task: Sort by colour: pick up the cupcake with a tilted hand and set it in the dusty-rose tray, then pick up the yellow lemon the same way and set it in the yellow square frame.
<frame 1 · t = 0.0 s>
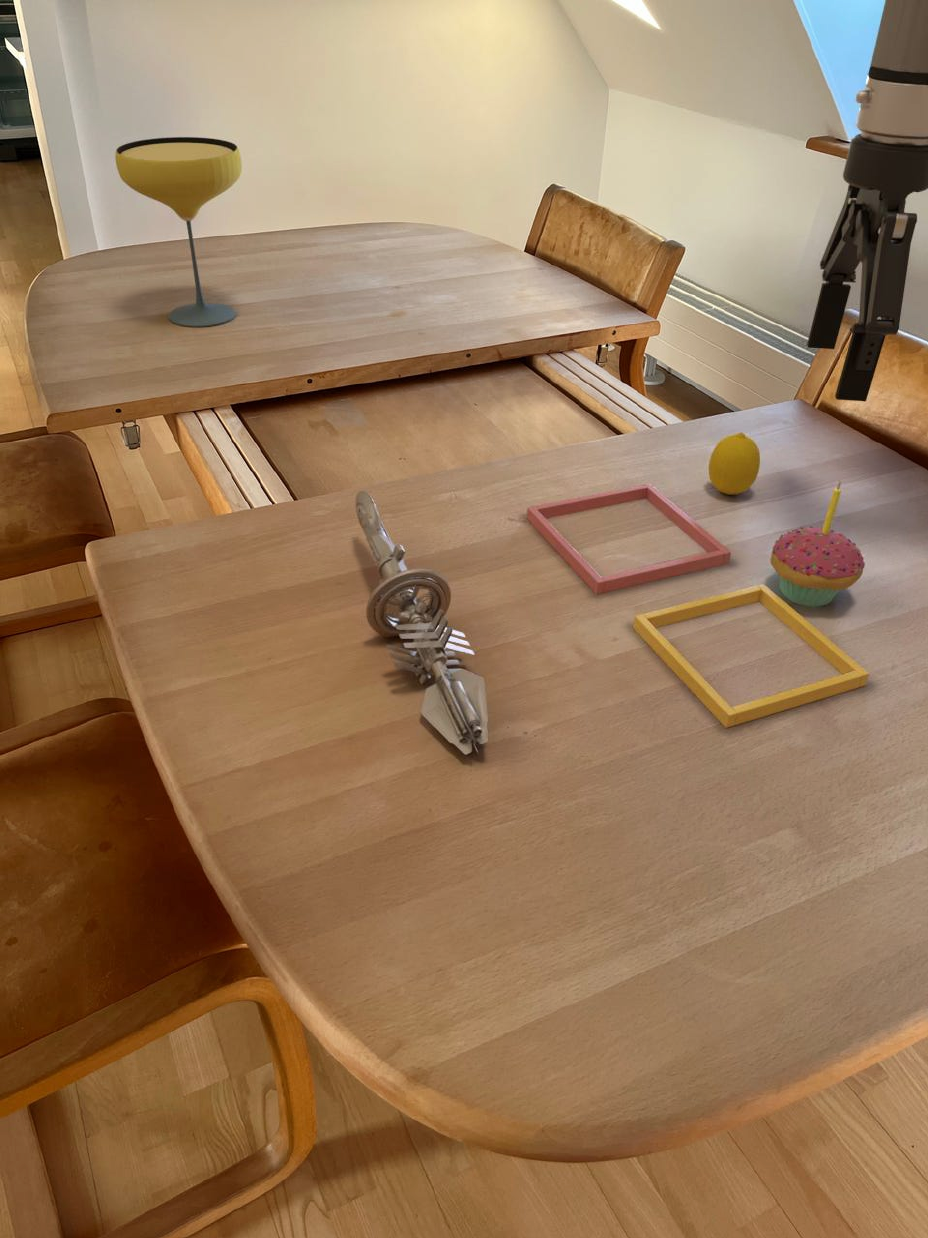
hand: (834, 371, 94), 18 cm above the table, tool pointing down, fingers open, 13 cm apart
yellow square frame: (743, 660, 84), on the table
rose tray: (623, 545, 100), on the table
lemon: (727, 497, 109), on the table
cocktail glass: (202, 316, 154), on the table
cupcake: (805, 599, 93), on the table
spaceship: (409, 640, 86), on the table
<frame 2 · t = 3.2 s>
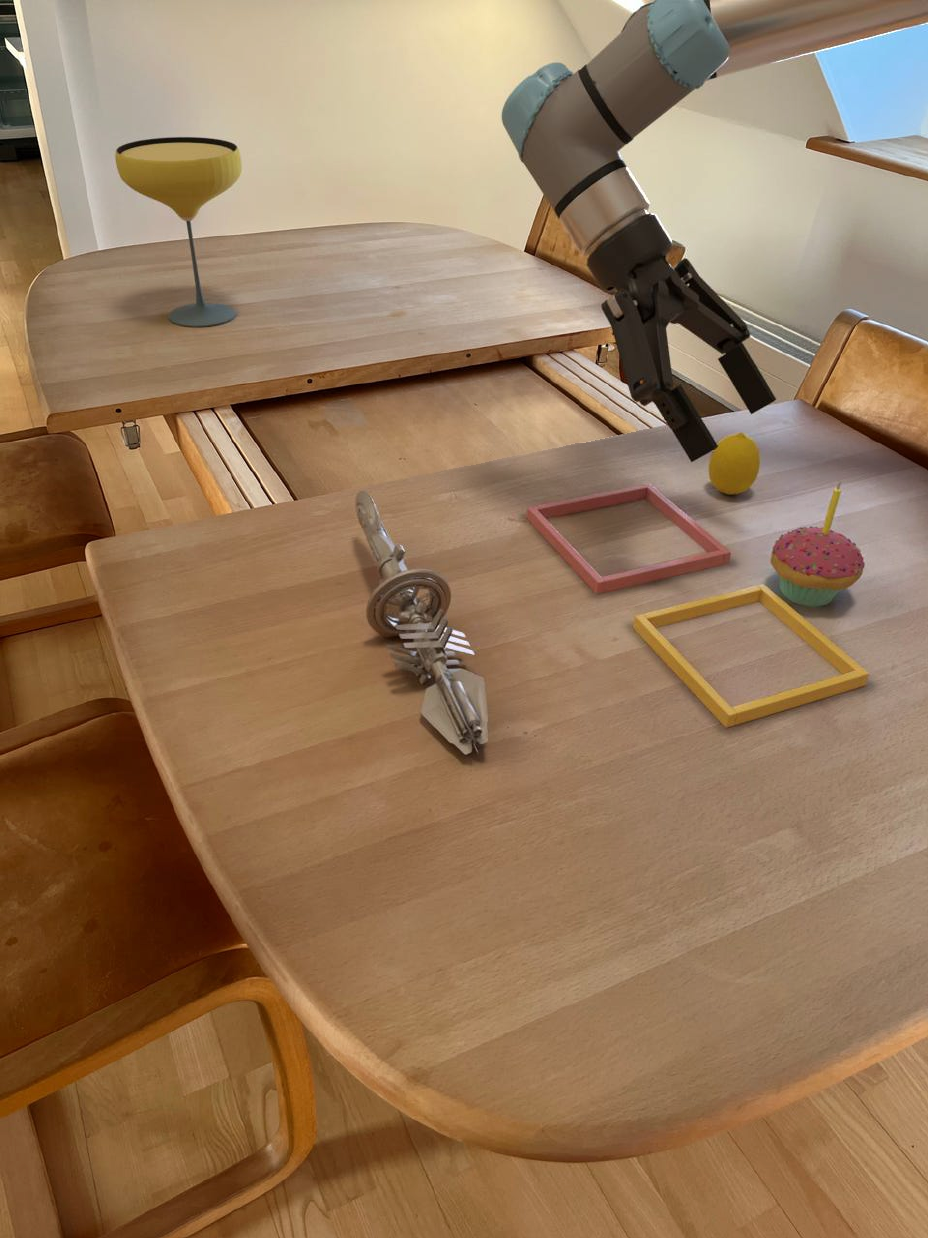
hand: (736, 429, 89), 15 cm above the table, tool tilted 45°, fingers open, 13 cm apart
nothing on the table moved.
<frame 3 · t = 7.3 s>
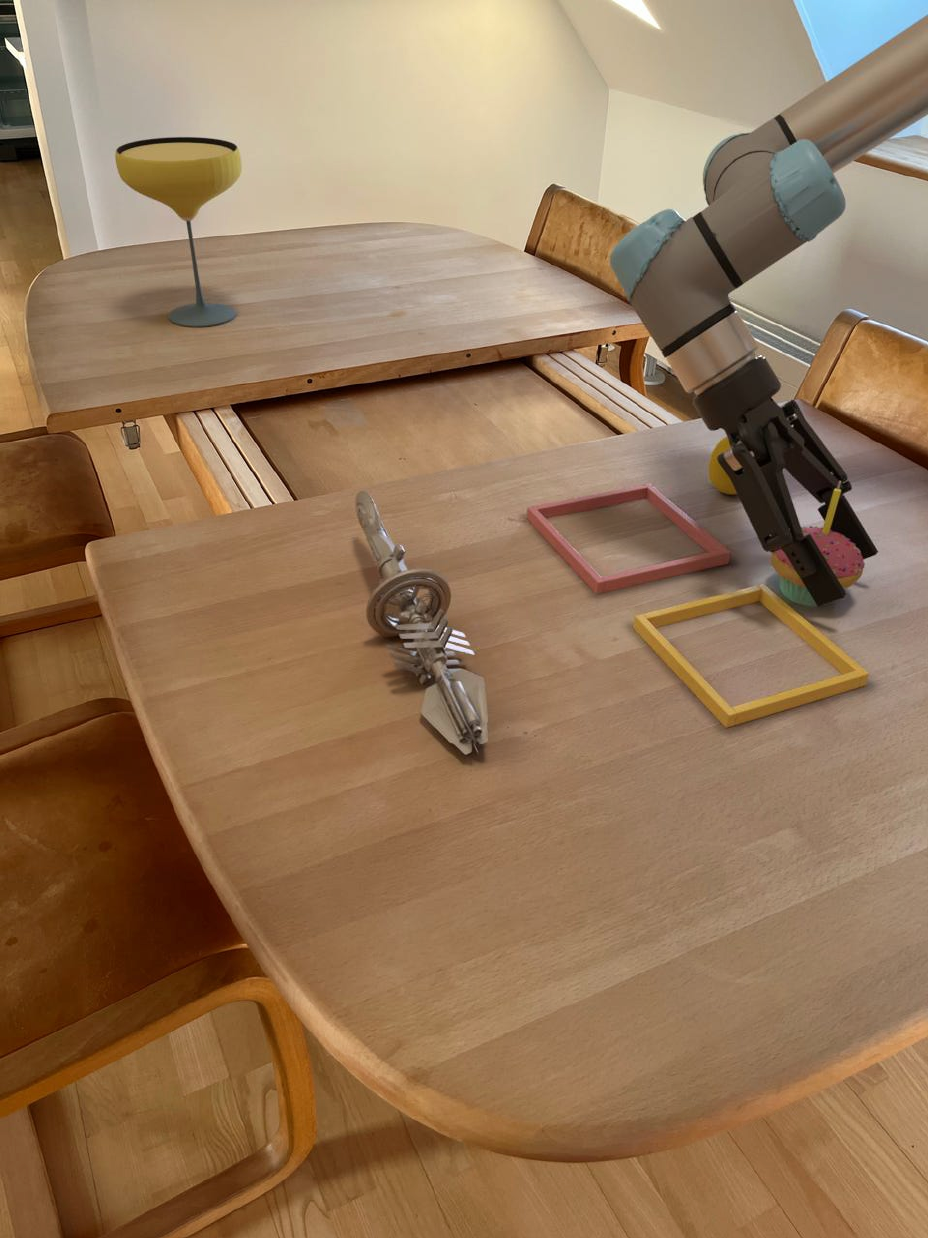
hand: (848, 578, 89), 4 cm above the table, tool tilted 45°, fingers closed on cupcake, 8 cm apart
cupcake: (805, 599, 93), on the table, touching gripper
everything else where it was.
when the fingers open (4 cm above the table, at t = 16.0 s): cupcake stays where it is, resting on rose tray.
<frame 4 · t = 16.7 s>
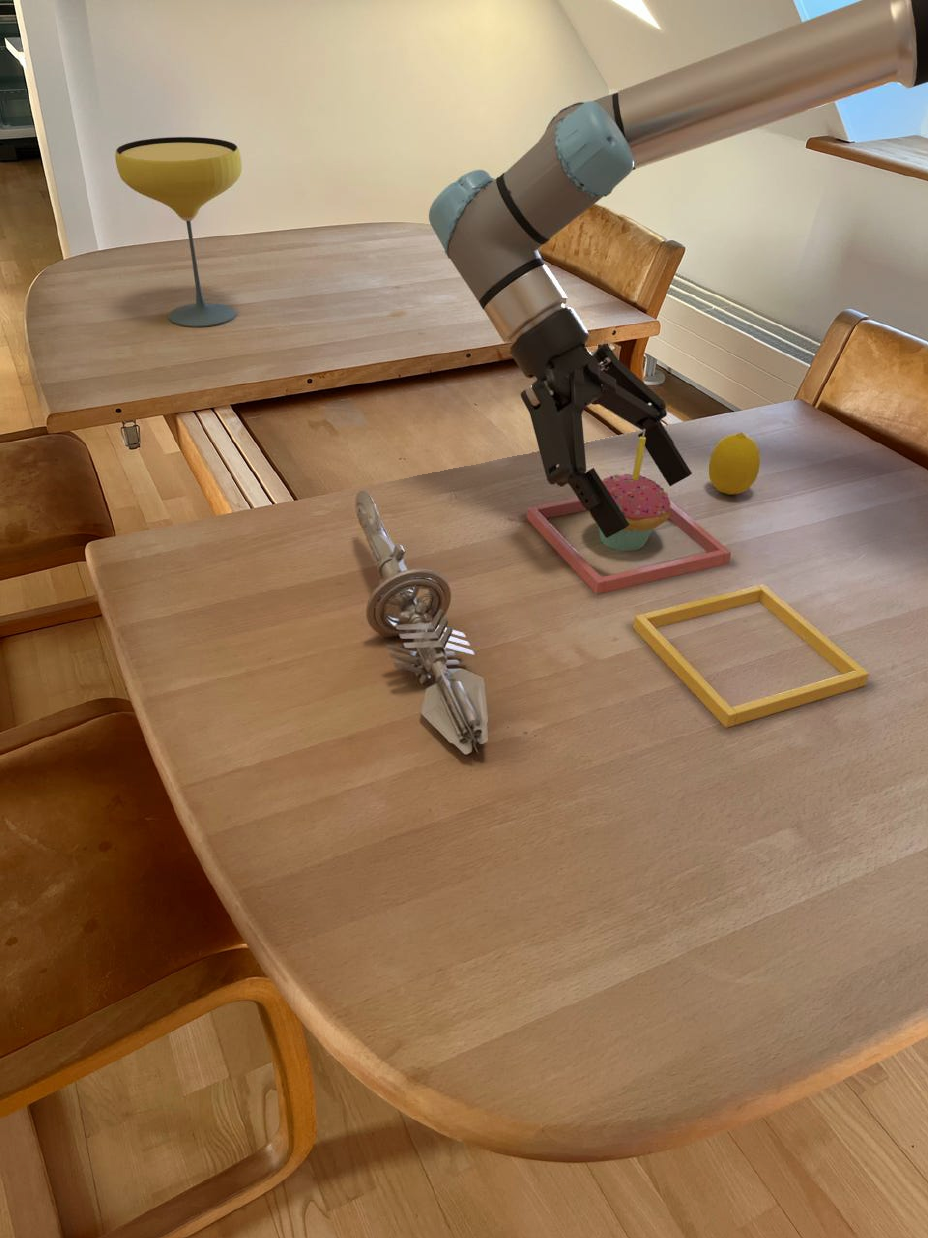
hand: (651, 504, 95), 6 cm above the table, tool tilted 45°, fingers open, 13 cm apart
cupcake: (623, 542, 100), resting on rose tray
everything else where it was.
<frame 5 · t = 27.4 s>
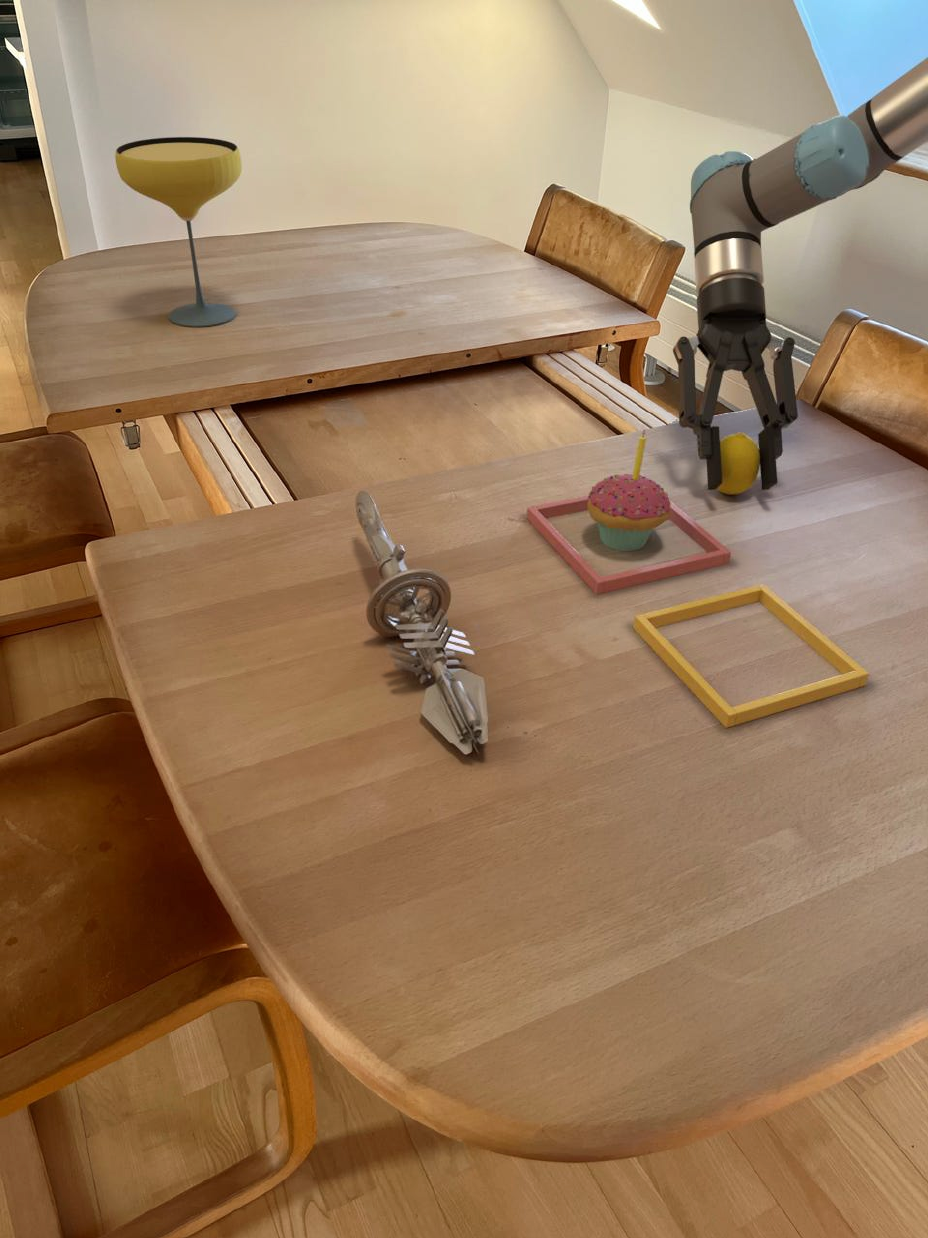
hand: (742, 485, 104), 3 cm above the table, tool tilted 45°, fingers closed on lemon, 5 cm apart
lemon: (727, 497, 109), on the table, touching gripper
everything else where it was.
when the fingers open (4 cm above the table, at t = 37.3 s): lemon stays where it is, resting on yellow square frame.
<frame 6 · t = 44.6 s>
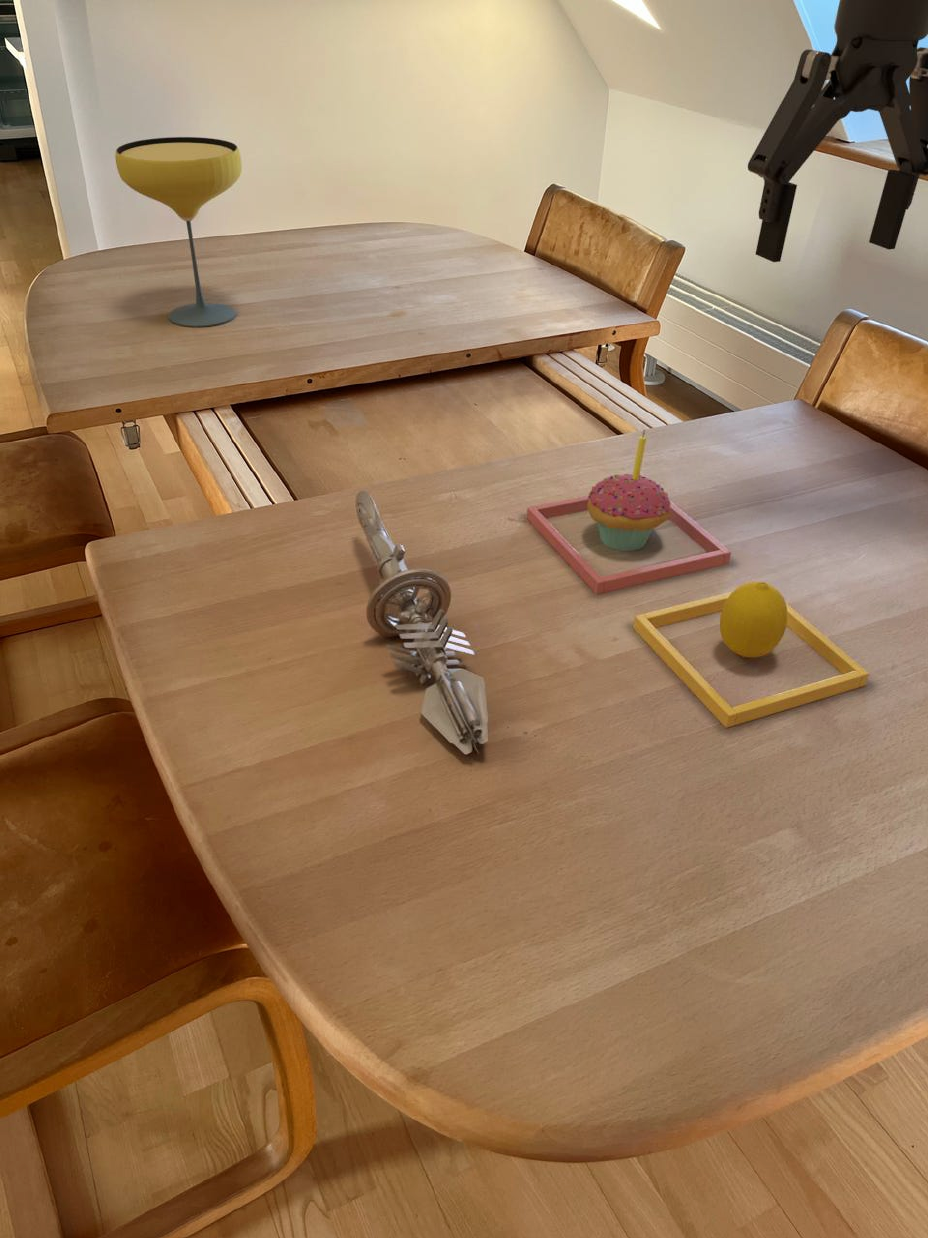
hand: (825, 251, 89), 29 cm above the table, tool pointing down, fingers open, 13 cm apart
lemon: (743, 657, 84), resting on yellow square frame
everything else where it was.
at the end: lemon inside the target area on the yellow square frame (0.1 cm from its centre), point 0.3 cm above the yellow square frame's base; cupcake inside the target area on the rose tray (0.1 cm from its centre), point 0.3 cm above the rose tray's base; the gripper is holding nothing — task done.
